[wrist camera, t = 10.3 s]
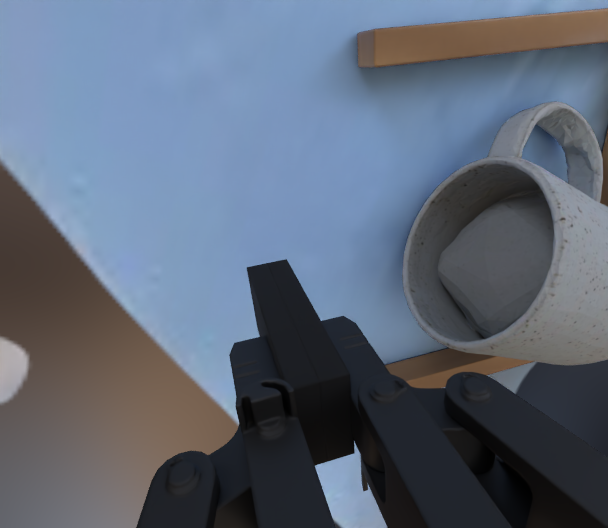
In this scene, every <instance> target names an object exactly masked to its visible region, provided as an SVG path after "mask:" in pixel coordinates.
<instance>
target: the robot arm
mask: <svg viewBox="0 0 608 528" xmlns="http://www.w3.org/2000/svg"><path fill="white" fill-rule="evenodd" d="M247 271H248V277H249V282H250V288H251V294H252V299H253V305H254V311H255V316H256V322H257V328H258V331H259V335H260V337H258V338H253V339H249V340H245V341H241V342H237V343H234V345H233V348H232V350H231V353H230V355H229V356H230V361H231V367H232V373H233V379H234V385H235V391H236V396H237V398H236V410H237V415H238V419H239V423H240V424H239V427H238V430H237V432H236V433H235V435H234V437H233V438H232V439H231V440H230V441H229V442H228V443H227V444H225V445H224V446H223V447H221V448H220V449H218V450H216V451H215V452H213V453H211V454H210V455H206V454H204V453H203V452H198V451H188V452H184V453H180V454H178V455H175V456H174V457H172V458H170V459H169V460H167V461H166V462H165V463H164V464H163V465H162V466H161V467H160V468H159V469H158V470H157V472H156V474H155V476H154V478H153V479H152V482H151V485H150V487H149V490H148V494H147V497H146V500H145V503H144V506H143V509H142V512H141V515H140V518H139V521H138V524H137V527H136V528H336V527H335V524H334V521H333V519H332V516H331V513H330V510H329V507H328V504H327V501H326V498H325V495H324V492H323V489H322V486H321V483H320V480H319V477H318V475H317V472H316V469H315V465H318V464H321V463H324V462H327V461H331V460H334V459H337V458H340V457H344V456H347V455H350V454H353V453H354V441H355V443H356V445H357V448H358V450H359V452H360V454H361V475H362V486H363V491H366V490H368V485H369V487H370V489H371V491H372V493H373V496H374V498H375V500H376V502H377V505H378V507H379V509H380V511H381V514H382V516H383V518H384V520H385V522H386V525H387V527H388V528H608V457H607V456H605V455H604V454H602V453H601V452H599V451H598V450H596V449H595V448H593V447H592V446H590V445H589V444H587V443H586V442H585V441H583V440H582V439H580V438H579V437H577V436H576V435H574V434H573V433H571V432H570V431H569V430H567V429H565V428H564V427H563V426H561V425H560V424H558V423H557V422H555V421H554V420H552V419H551V418H549V417H548V416H547V415H545V414H544V413H542V412H541V411H539V410H538V409H536V408H535V407H533V406H532V405H531V404H529V403H528V402H526V401H525V400H523V399H522V398H520V397H519V396H517V395H516V394H514V393H513V392H512V391H510V390H509V389H507V388H506V387H504V386H503V385H501V384H500V383H498V382H497V381H495V380H494V379H492V378H490V377H488V376H486V375H484V374H480V373H476V372H460V373H457V374H454V375H452V376H451V377H450V378H449V379H448V380H447V383H446V387H445V388H415V387H411V386H410V385H409V384H408V383H407V382H406V381H405V380H404V379H402V378H400V377H398V376H396V375H392V374H390V372H389V371H388V369H387V368H386V367H385V365H384V364H383V362H382V361H381V359H380V358H379V356H378V355H377V353H376V352H375V351H374V349H373V348H372V346H371V345H370V343H368V340H367V339H366V337H365V336H364V335H363V333H362V332H361V330H360V329H359V327H358V326H357V324H356V323H355V322H353V321H351V320H350V319H348V318H346V317H345V316H341V317H337V318H333V319H328V320H324V321H321V320H320V319H319V317H318V315H317V313H316V311H315V310H314V308H313V306H312V304H311V302H310V301H309V299H308V297H307V295H306V293H305V292H304V290H303V288H302V286H301V284H300V283H299V281H298V279H297V277H296V275H295V274H294V272H293V270H292V268H291V266H290V265H289V263H288V261H287V259H286V260H281V261H276V262H271V263H266V264H261V265H257V266H252V267H247ZM367 482H368V484H367Z"/></svg>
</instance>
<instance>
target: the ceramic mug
mask: <svg viewBox="0 0 608 528" xmlns="http://www.w3.org/2000/svg"><path fill="white" fill-rule="evenodd" d="M536 124H537V125H538V126H539V127H541V128H542V129H544V130H545V131H546V132H547V133H548V134H550V135H551V136H552V137H554V138H555V139H556V140H557V142H558V143H559V145H561V146H562V148H563V150H564V152H565V157H566V162H567V166H568V168H567V175H568V183H566V182H565V181H563V180H561V179H560V178H558V177H557V176H555V175H553V174H552V173H550V172H548V171H547V170H545V169H543V168H542V167H540V166H538V165H536V164H534V163H532V162H530V161H527V160H525V159H521V158H522V150H523V148H524V146H525V144H526V142H527V140H528V138H529V136H530V134H531V132H532V130H533V128H534V126H535V125H536ZM602 183H603V158H602V154H601V151H600V147H599V144H598V141H597V139H596V136H595V134H594V132H593V130H592V128H591V127H590V125H589V124H588V122H587V121H586V119H585V118H584V117H583V116H582V115H581V114H580V113H579V112H578V111H576V110H575V109H574V108H572V107H571V106H569V105H567V104H565V103H562V102H557V101H555V102H549V103H543V104H540V105H537V106H535V107H533V108H530V109H526V110H523V111H521V112H519V113H517V114H516V115H514V116H512V117H511V118H509V119H508V120H507V121H506V122H505V123H504V124H503V125H502V127H501V128H500V130H499V131H498V133H497V135H496V137H495V139H494V142H493V144H492V146H491V148H490V151H489V153H488V157H486V158H483V159H480V160H477V161H474V162H472V163H469V164H467V165H465V166H464V167H462V168H460V169H458V170H457V171H455V172H454V173H452V174H451V175H450V176H449V177H448V178H447V179H445V180H444V181H443V182H442V183H441V184H440V185H439V186H438V187H437V188H436V189H435V190H434V192H433V193H432V194H431V195H430V197H429V198H428V199H427V200H426V202H425V204H424V205H423V207H422V208H421V210H420V212H419V214H418V215H417V217H416V219H415V221H414V224H413V226H412V228H411V231H410V234H409V236H408V239H407V243H406V247H405V252H404V256H403V270H402V279H403V289H404V293H405V297H406V300H407V303H408V306H409V309H410V311H411V312H412V314H413V316H414V318H415V320H416V321H417V323H418V324H419V325H420V327H421V328H422V329H423V330H424V331H425V332H426V333H428V335H429V336H430V337H431V338H433V339H434V340H436V341H437V342H438V343H441V344H443V345H445V346H446V347H448V348H451V349H455V350H459V351H463V352H467V353H474V354H484V355H492V356H499V357H506V358H513V359H520V360H530V361H537V362H543V363H550V364H558V365H579V364H588V363H594V362H598V361H603V360H607V359H608V207H607V206H605V205H603V204H601V203H600V199H601V191H602Z"/></svg>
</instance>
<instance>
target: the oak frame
mask: <svg viewBox="0 0 608 528" xmlns="http://www.w3.org/2000/svg"><path fill="white" fill-rule="evenodd" d="M357 42H358V67H359V68H377V67H386V66H395V65H404V64H414V63H423V62H432V61H441V60H450V59H460V58H469V57H478V56H487V55H496V54H505V53H515V52H524V51H533V50H542V49H551V48H561V47H570V46H579V45H588V44H597V43H606V42H608V8H605V9H594V10H583V11H572V12H560V13H549V14H538V15H526V16H515V17H504V18H493V19H481V20H470V21H459V22H447V23H436V24H425V25H414V26H402V27H391V28H380V29H372V30H368V31H363V32H359V33H358V34H357ZM602 158H603V183H602V191H601V199H600V203H601V204H603V205H605V206H607V207H608V130H607V134H606V138H605V143H604V147H603V151H602ZM531 362H534V361H530V360H520V359H513V358H506V357H499V356H492V355H484V354H474V353H467V352H463V351H459V350H455V349H451V348H448V349H444V350H440V351H437V352H433V353H429V354H425V355H422V356H418V357H414V358H410V359H406V360H403V361H399V362H395V363H391V364H388V365H385V367H386V368H387V369H388V371H389V372H390V374H392V375H396V376H398V377H400V378H402V379H404V380H405V381H406V382H407V383H408V384H409V385H410V386H411V387H415V388H443V387H446V383H447V380H448V379H449V378H450V377H451V376H452V375H454V374H457V373H460V372H476V373H480V374H484V375H489V374H492V373H496V372H499V371H503V370H506V369H510V368H513V367H517V366H520V365H524V364H527V363H531Z"/></svg>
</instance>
